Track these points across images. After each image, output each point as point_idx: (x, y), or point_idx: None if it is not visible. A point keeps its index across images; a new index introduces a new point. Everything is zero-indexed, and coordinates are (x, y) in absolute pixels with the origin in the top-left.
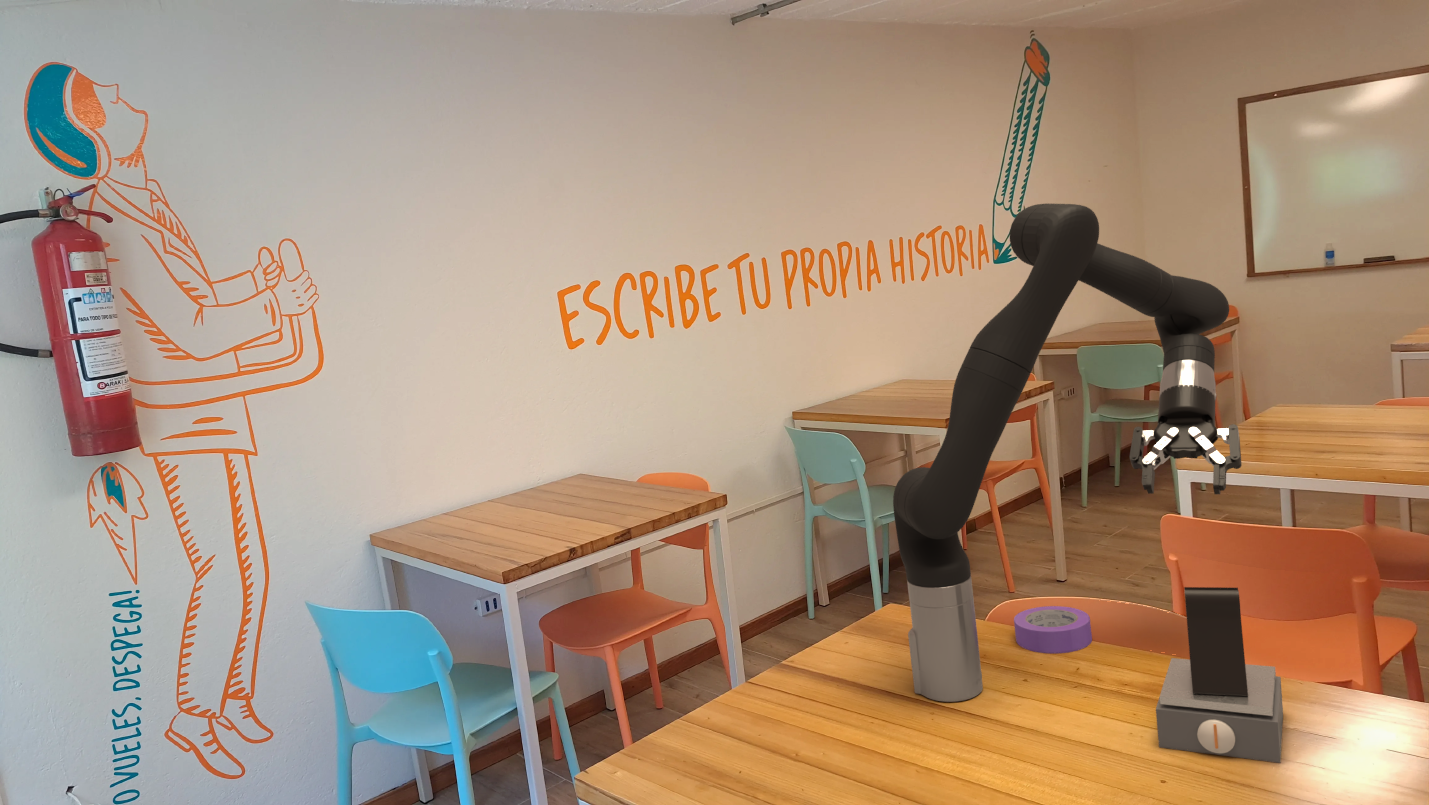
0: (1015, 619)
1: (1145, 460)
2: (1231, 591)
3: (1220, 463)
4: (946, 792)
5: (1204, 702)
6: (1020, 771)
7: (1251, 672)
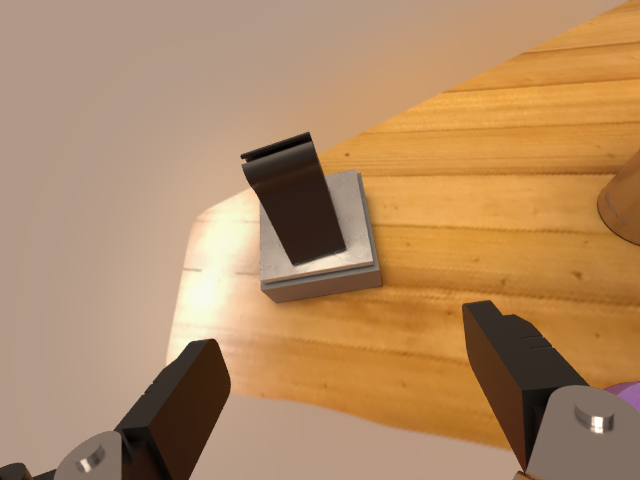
0: None
1: (599, 396)
2: (249, 152)
3: (109, 433)
4: (484, 72)
5: None
6: (451, 117)
7: (282, 255)
